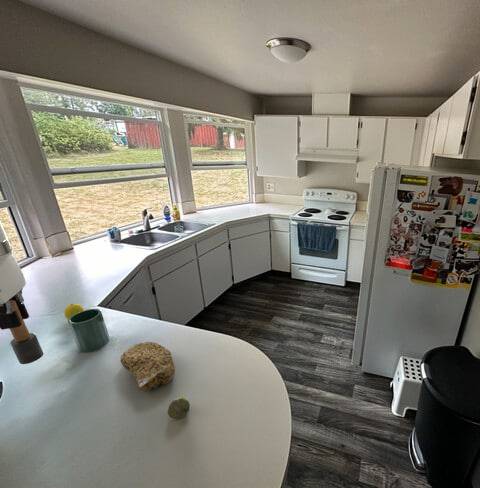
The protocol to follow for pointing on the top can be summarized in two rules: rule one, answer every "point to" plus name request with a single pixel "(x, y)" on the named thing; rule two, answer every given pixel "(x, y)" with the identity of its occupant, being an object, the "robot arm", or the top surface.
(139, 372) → the beige grainy bag
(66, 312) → the lemon
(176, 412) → the lime
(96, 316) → the teal ceramic mug
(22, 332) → the brush
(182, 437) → the top surface
